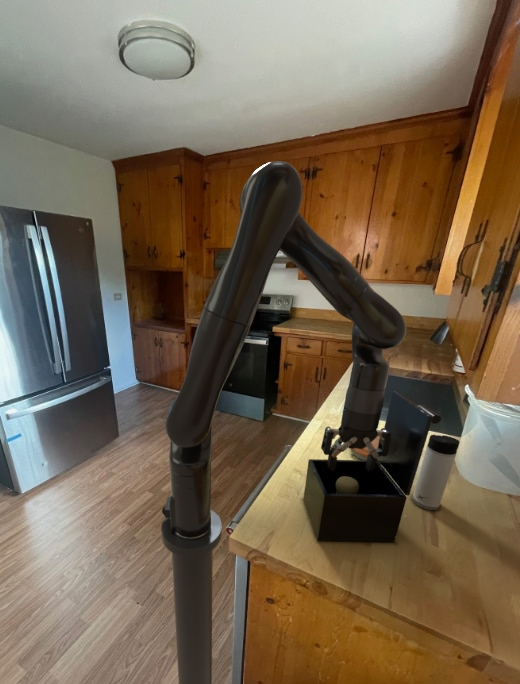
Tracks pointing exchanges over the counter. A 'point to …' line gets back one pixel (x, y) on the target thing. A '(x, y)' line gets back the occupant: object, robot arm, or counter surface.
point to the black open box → (353, 503)
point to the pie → (365, 450)
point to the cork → (347, 485)
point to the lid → (406, 439)
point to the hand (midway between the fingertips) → (350, 469)
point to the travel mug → (435, 471)
